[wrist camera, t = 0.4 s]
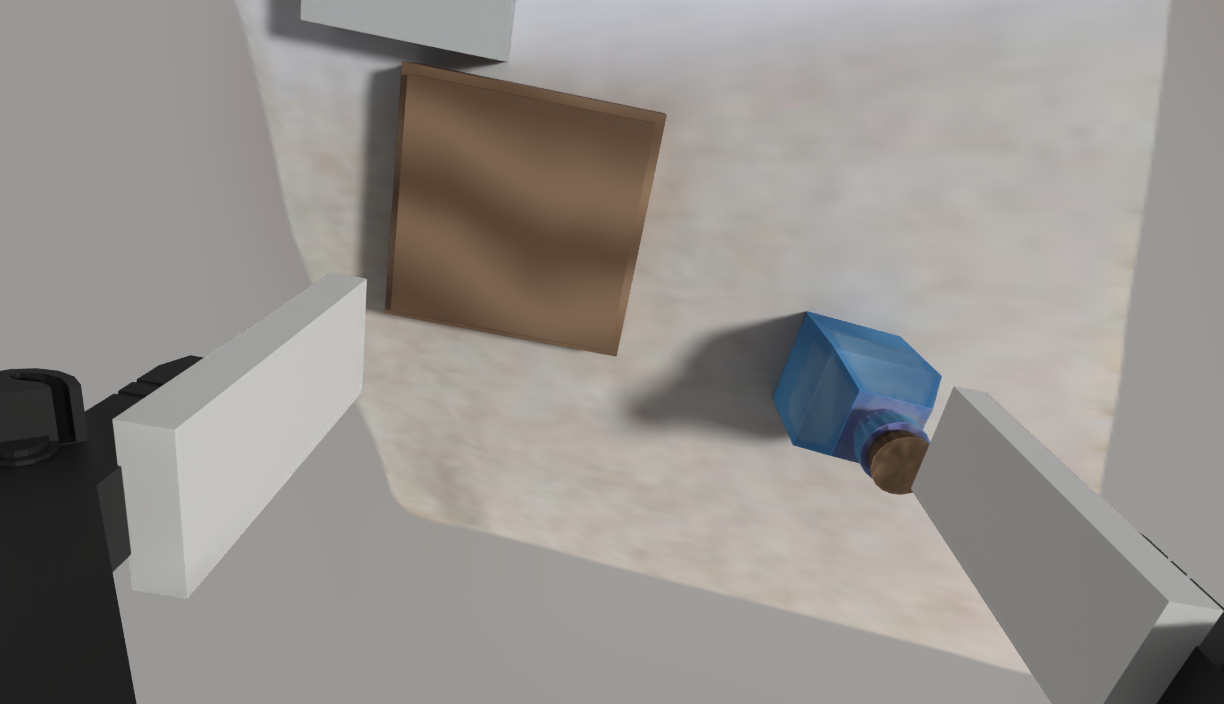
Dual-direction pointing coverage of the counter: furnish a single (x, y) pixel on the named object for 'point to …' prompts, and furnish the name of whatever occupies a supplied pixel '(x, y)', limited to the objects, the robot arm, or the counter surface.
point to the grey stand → (424, 22)
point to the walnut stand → (517, 208)
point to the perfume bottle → (858, 399)
